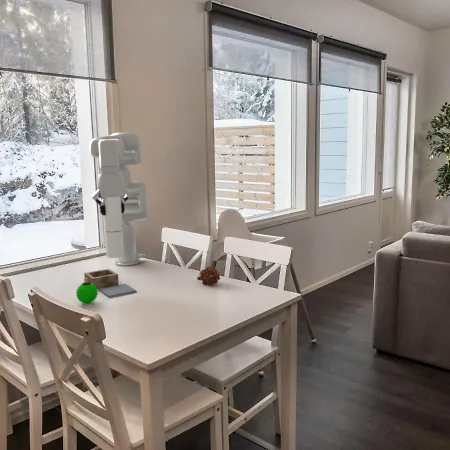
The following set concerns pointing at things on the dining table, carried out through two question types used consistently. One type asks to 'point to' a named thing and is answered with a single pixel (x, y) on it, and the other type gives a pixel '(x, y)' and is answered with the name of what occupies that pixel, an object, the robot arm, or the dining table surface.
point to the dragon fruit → (209, 276)
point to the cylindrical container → (113, 227)
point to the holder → (102, 278)
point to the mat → (117, 290)
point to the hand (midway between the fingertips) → (112, 213)
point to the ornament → (86, 292)
